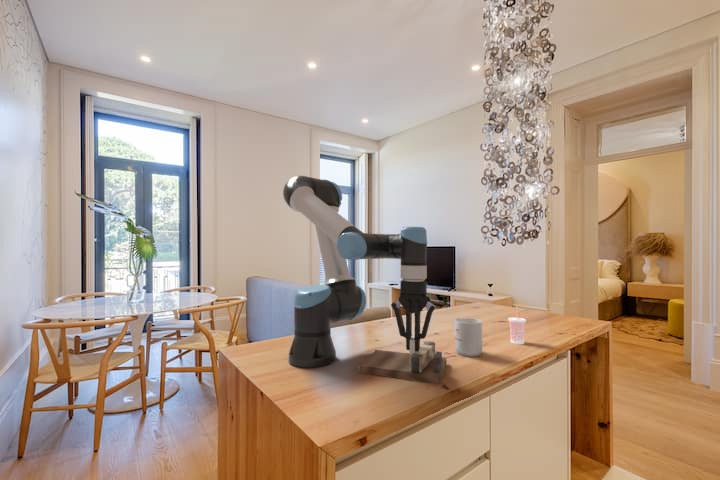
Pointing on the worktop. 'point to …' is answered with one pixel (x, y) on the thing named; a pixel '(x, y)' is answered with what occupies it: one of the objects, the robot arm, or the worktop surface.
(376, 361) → the wooden base board
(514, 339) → the beverage cup
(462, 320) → the mug
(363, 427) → the worktop surface
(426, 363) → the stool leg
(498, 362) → the worktop surface
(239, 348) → the worktop surface
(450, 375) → the worktop surface
